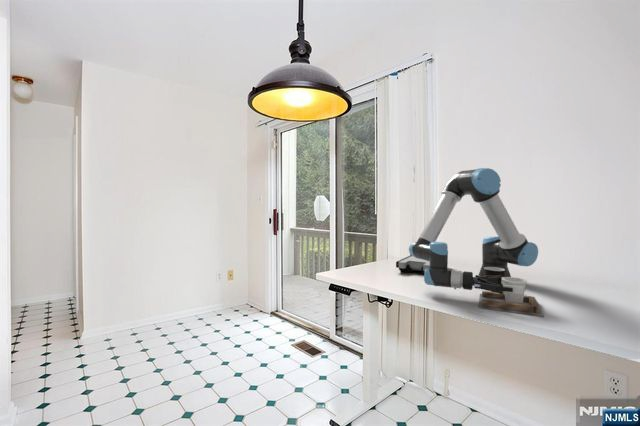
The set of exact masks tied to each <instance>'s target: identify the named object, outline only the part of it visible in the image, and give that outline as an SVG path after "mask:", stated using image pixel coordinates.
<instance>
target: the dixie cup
mask: <svg viewBox="0 0 640 426" xmlns="http://www.w3.org/2000/svg"><path fill="white" fill-rule="evenodd" d="M502 280H503V285H511V286H521V287H523V294H516V293H507V292H504V293H505V300H506V302H509V303H517V304H523V298H524V296H525V291H526V283H527V282H528V281H527V280H526V279H524V278H520V277H514V276H511V277H504V278H502Z"/></svg>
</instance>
